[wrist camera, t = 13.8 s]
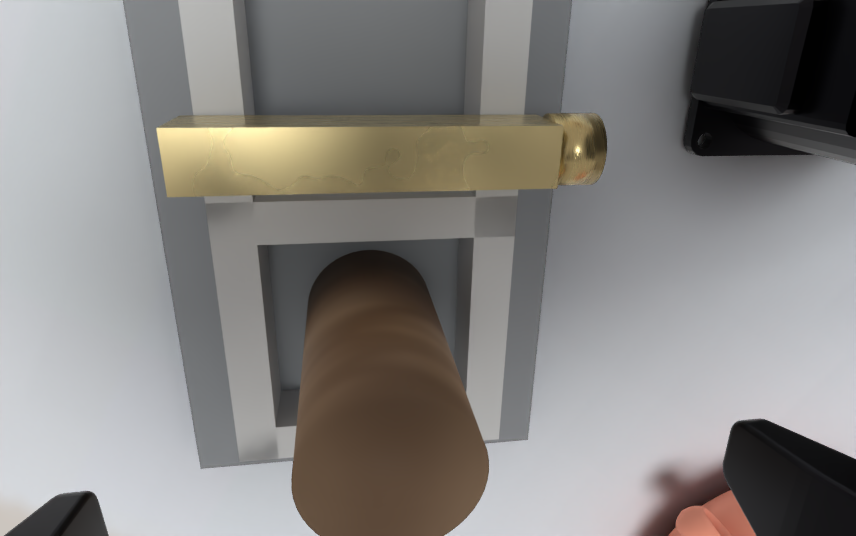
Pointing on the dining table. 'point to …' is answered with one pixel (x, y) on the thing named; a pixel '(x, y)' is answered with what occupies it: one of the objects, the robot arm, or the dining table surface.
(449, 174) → the pin
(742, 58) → the robot arm
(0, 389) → the dining table surface
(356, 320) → the peg
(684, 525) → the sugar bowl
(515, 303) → the dock
